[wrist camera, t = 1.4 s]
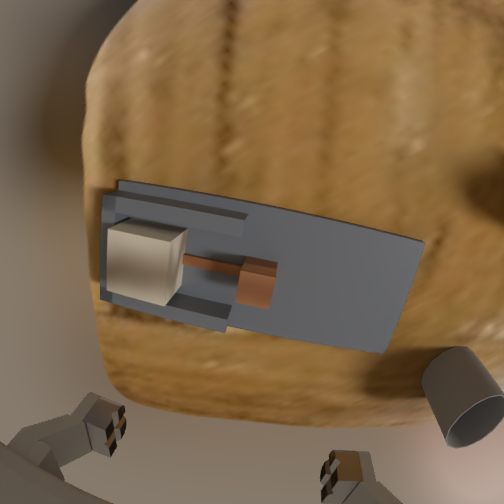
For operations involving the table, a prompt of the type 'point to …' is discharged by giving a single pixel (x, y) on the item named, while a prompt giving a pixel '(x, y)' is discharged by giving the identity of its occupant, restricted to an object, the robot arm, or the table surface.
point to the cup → (462, 396)
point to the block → (174, 265)
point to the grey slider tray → (288, 268)
